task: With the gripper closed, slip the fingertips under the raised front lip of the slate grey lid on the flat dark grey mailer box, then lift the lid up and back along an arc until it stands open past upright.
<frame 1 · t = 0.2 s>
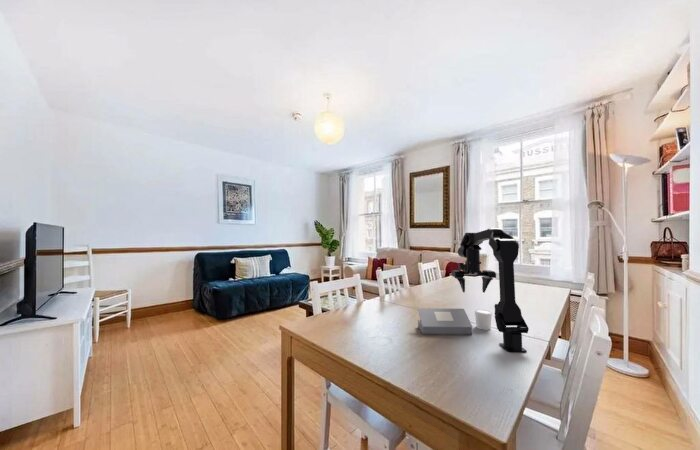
hand: (473, 292, 125), 14 cm above the table, tool pointing down, fingers open, 9 cm apart
shot glass: (483, 328, 119), on the table
lid flap: (443, 317, 115), point 6 cm above the table, hinge at 30.0°
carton: (443, 330, 115), on the table
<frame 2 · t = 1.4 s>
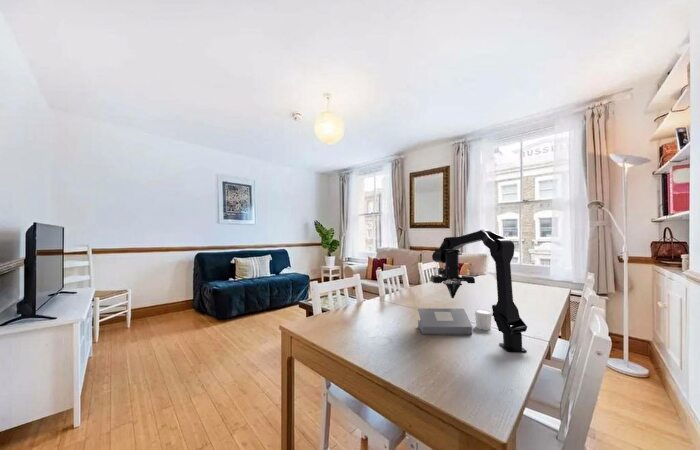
hand: (452, 298, 124), 12 cm above the table, tool pointing down, fingers closed
nothing on the table moved.
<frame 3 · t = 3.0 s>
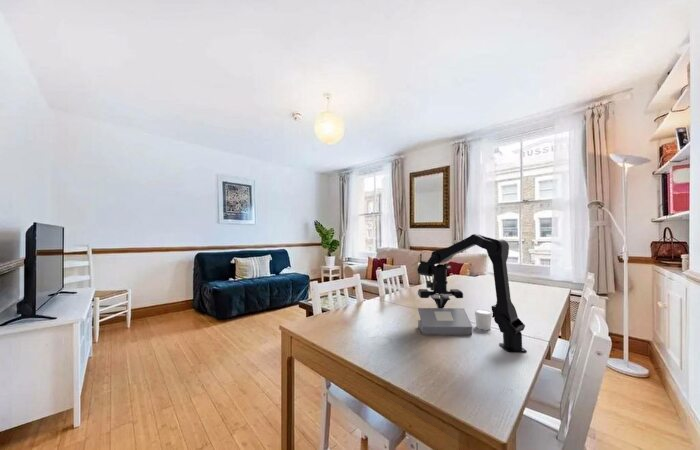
hand: (440, 312, 120), 6 cm above the table, tool pointing down, fingers closed, pressing on lid flap
lid flap: (444, 317, 115), point 6 cm above the table, hinge at 31.3°, touching gripper
everything else where it was.
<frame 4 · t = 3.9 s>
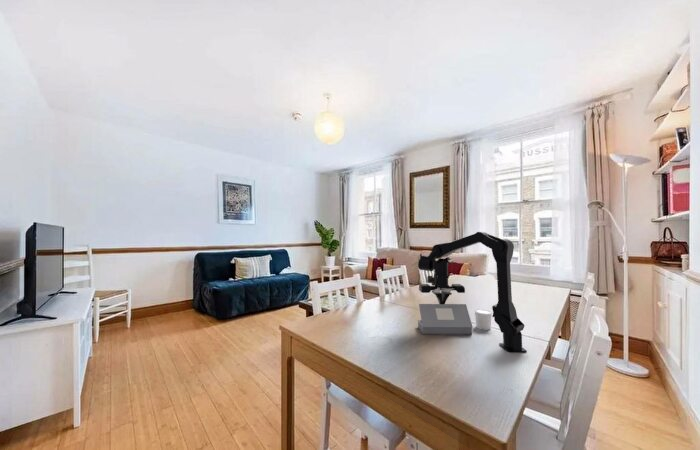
hand: (441, 307, 118), 9 cm above the table, tool pointing down, fingers closed, pressing on lid flap
lid flap: (444, 315, 114), point 7 cm above the table, hinge at 50.5°, touching gripper
everything else where it was.
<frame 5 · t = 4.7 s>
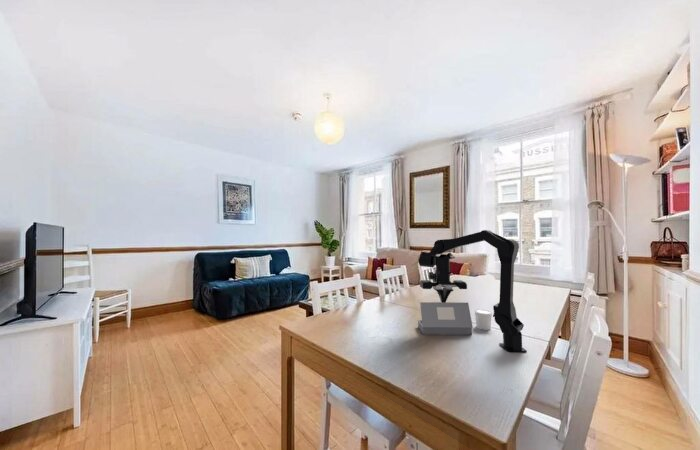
hand: (443, 304, 116), 11 cm above the table, tool pointing down, fingers closed, pressing on lid flap
lid flap: (445, 314, 112), point 8 cm above the table, hinge at 65.8°, touching gripper
everything else where it was.
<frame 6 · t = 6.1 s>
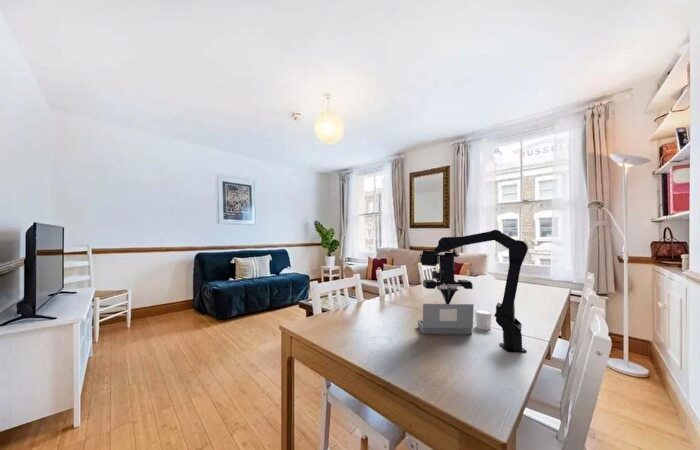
hand: (447, 305, 110), 12 cm above the table, tool pointing down, fingers closed, pressing on lid flap
lid flap: (447, 316, 110), point 8 cm above the table, hinge at 96.2°, touching gripper
everything else where it was.
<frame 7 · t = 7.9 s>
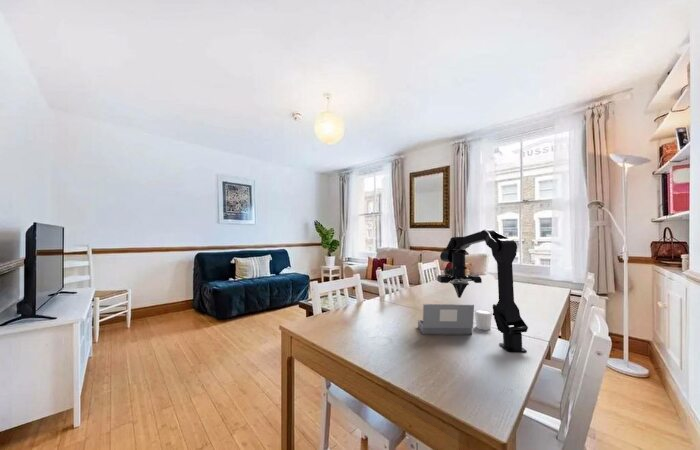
hand: (459, 297, 124), 12 cm above the table, tool pointing down, fingers closed
lid flap: (448, 316, 109), point 8 cm above the table, hinge at 99.5°
everything else where it was.
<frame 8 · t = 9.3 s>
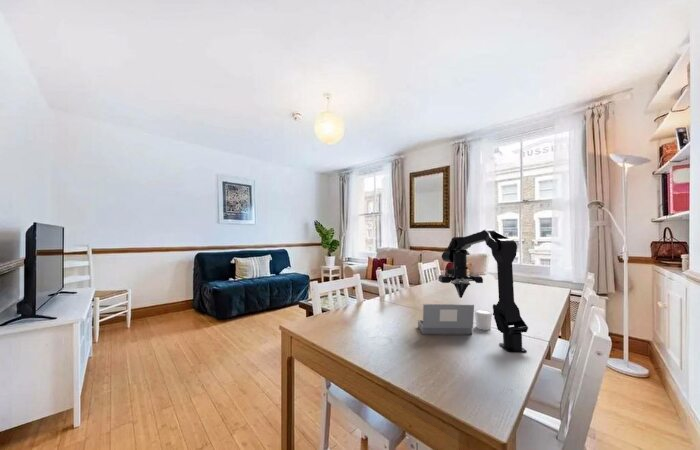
hand: (460, 297, 124), 12 cm above the table, tool pointing down, fingers closed
nothing on the table moved.
at the end: lid flap at +100° (first picture: +30°) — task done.
